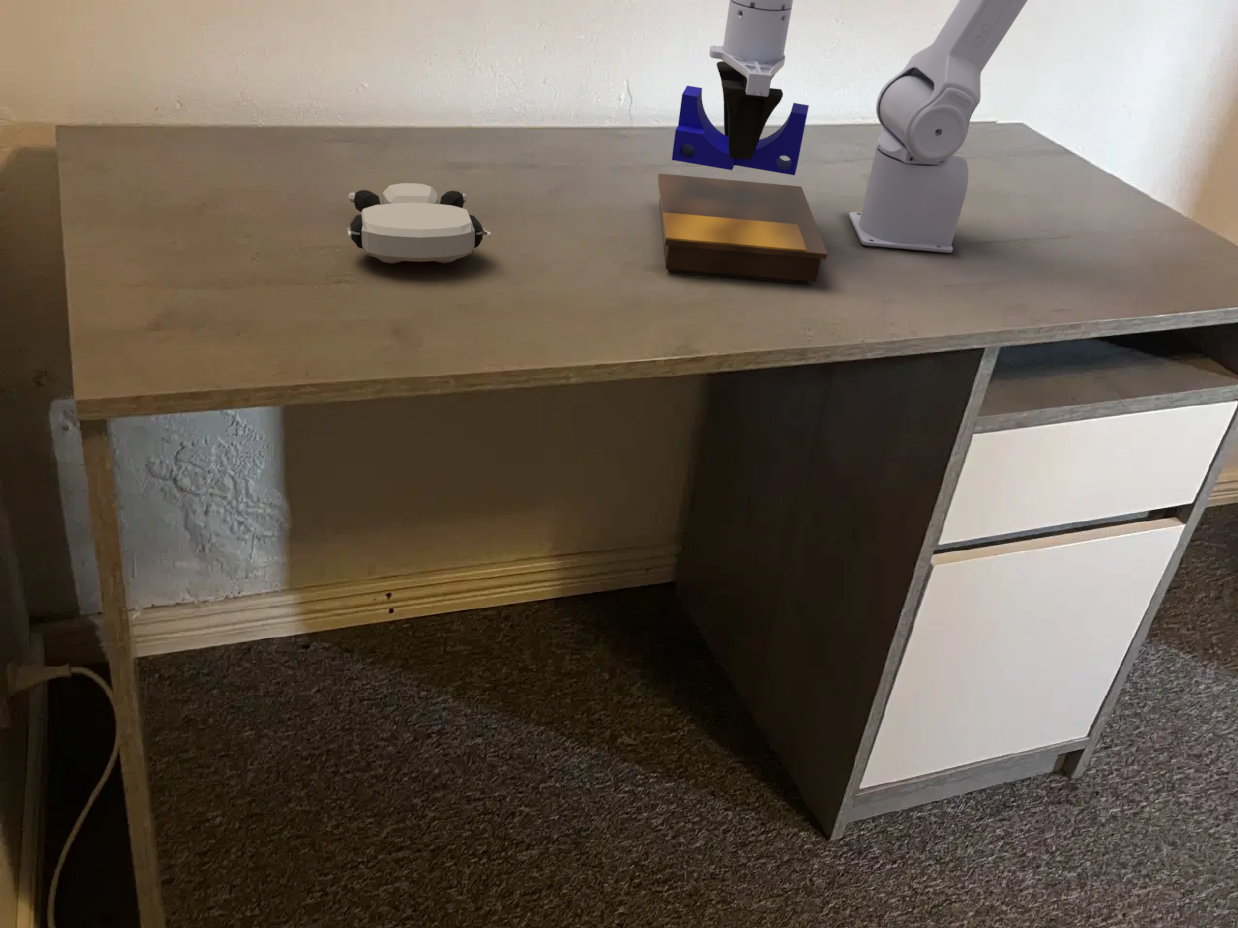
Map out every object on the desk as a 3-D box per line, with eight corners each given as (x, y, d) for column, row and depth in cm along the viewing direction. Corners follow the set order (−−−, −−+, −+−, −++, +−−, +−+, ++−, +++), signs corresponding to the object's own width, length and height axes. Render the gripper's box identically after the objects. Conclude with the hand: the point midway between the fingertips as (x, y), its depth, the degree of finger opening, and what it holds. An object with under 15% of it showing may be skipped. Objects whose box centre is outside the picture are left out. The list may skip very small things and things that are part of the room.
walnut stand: (795, 219, 121) (802, 184, 119) (820, 289, 107) (828, 252, 105) (654, 206, 120) (658, 171, 118) (660, 275, 106) (665, 237, 104)
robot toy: (343, 221, 111) (349, 279, 98) (342, 175, 108) (347, 228, 96) (470, 222, 114) (491, 277, 101) (471, 177, 111) (492, 228, 99)
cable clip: (671, 160, 111) (679, 98, 108) (679, 145, 115) (687, 85, 112) (793, 180, 110) (805, 119, 107) (797, 165, 114) (808, 105, 110)
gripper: (712, -19, 110) (693, 120, 118) (723, 17, 98) (701, 170, 106) (784, -11, 110) (760, 127, 118) (804, 26, 98) (776, 177, 106)
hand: (737, 148), depth 112 cm, fingers closed on cable clip, 5 cm apart
